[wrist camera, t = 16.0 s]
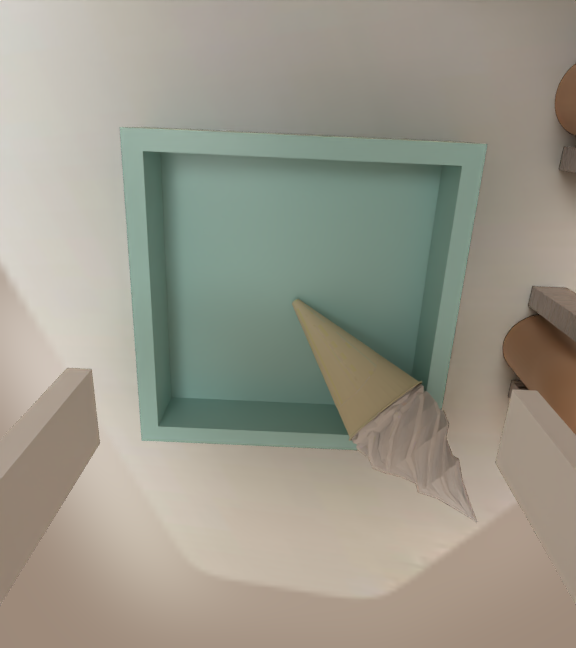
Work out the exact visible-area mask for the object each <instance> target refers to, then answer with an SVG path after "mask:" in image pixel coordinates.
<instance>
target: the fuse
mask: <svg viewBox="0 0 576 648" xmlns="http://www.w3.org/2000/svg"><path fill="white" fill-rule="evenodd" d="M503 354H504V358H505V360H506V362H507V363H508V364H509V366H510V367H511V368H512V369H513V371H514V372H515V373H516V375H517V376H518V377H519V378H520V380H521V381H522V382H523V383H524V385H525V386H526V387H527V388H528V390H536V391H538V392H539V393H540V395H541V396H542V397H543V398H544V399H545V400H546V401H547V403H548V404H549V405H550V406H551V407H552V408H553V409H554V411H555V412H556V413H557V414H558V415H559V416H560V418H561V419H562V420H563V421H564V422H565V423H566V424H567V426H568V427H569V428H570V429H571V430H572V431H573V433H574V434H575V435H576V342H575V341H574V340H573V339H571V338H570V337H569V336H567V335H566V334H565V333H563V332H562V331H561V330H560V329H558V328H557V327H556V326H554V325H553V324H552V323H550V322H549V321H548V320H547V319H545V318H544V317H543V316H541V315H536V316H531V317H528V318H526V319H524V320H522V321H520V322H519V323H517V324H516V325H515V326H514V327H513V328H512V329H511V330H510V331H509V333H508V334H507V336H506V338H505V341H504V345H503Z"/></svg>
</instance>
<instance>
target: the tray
mask: <svg viewBox="0 0 576 648" xmlns="http://www.w3.org/2000/svg"><path fill="white" fill-rule="evenodd" d="M120 138H121V153H122V167H123V181H124V195H125V209H126V224H127V238H128V252H129V266H130V281H131V295H132V309H133V323H134V338H135V352H136V366H137V380H138V395H139V409H140V423H141V437H142V441H164V442H187V443H209V444H231V445H253V446H276V447H298V448H320V449H342V450H357V448H356V446H357V444H354V443H353V441H352V440H351V441H349V438H350V437H349V435H348V432H347V430H346V428H345V425H344V423H343V421H342V418H341V416H340V414H339V411H338V409H337V407H336V405H335V403H334V400H333V398H332V396H331V394H330V391H329V389H328V387H327V384H326V382H325V380H324V377H323V375H322V373H321V370H320V368H319V366H318V363H317V361H316V359H315V356H314V354H313V352H312V350H311V347H310V345H309V343H308V340H307V338H306V336H305V333H304V331H303V329H302V326H301V324H300V322H299V319H298V317H297V315H296V312H295V310H294V308H293V305H292V303H293V301H294V300H296V299H299V300H301V301H302V302H304V303H305V304H307V305H308V306H310V307H311V308H313V309H314V310H315V311H317V312H318V313H320V314H321V315H323V316H324V317H326V318H327V319H329V320H330V321H332V322H333V323H334V324H336V325H337V326H339V327H340V328H342V329H343V330H345V331H346V332H348V333H349V334H351V335H352V336H353V337H355V338H356V339H358V340H359V341H361V342H362V343H364V344H365V345H367V346H368V347H370V348H371V349H372V350H374V351H375V352H376V353H378V354H379V355H381V356H382V357H384V358H385V359H387V360H388V361H390V362H391V363H392V364H394V365H395V366H397V367H398V368H400V369H401V370H403V371H404V372H406V373H407V374H409V375H410V376H411V377H413V378H414V379H416V380H417V381H422V384H421V385H423V386H424V391H427V392H428V393H429V394H430V395H431V396H432V397H433V398H434V400H435V401H436V402H437V404H438V407H439V409H441V410H442V404H443V398H444V392H445V387H446V381H447V375H448V369H449V363H450V358H451V352H452V346H453V340H454V335H455V329H456V323H457V317H458V311H459V306H460V300H461V294H462V288H463V283H464V277H465V271H466V265H467V259H468V254H469V248H470V242H471V236H472V230H473V225H474V219H475V213H476V207H477V202H478V196H479V190H480V184H481V178H482V173H483V167H484V161H485V155H486V150H487V144H479V143H468V142H454V141H432V140H410V139H389V138H367V137H345V136H324V135H302V134H280V133H258V132H237V131H215V130H193V129H172V128H150V127H120Z"/></svg>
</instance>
